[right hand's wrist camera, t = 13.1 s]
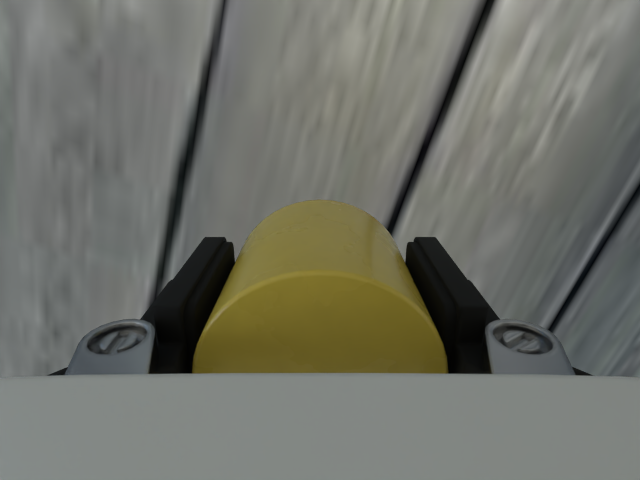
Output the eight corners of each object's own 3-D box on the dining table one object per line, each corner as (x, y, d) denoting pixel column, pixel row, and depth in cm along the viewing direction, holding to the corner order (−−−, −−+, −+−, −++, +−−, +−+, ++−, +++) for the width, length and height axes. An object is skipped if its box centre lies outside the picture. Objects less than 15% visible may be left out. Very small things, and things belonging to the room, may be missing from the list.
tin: (426, 223, 11) (491, 307, 7) (374, 362, 13) (401, 499, 9) (255, 179, 11) (213, 241, 7) (224, 329, 13) (174, 456, 8)
